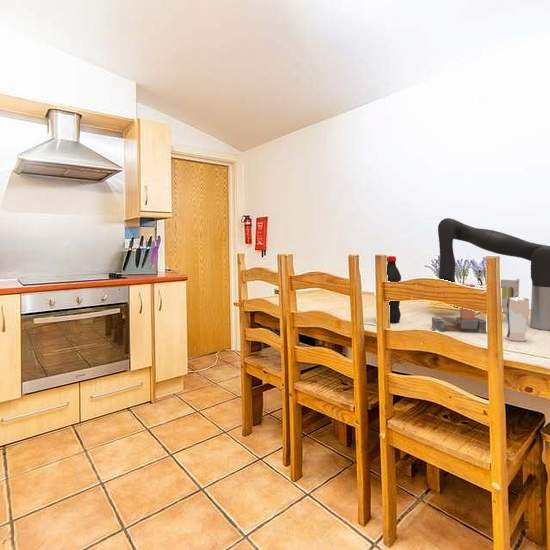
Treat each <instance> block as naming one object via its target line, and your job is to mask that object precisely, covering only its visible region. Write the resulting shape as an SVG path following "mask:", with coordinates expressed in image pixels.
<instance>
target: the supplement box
mask: <svg viewBox="0 0 550 550" xmlns="http://www.w3.org/2000/svg"><path fill="white" fill-rule="evenodd" d="M500 278H501V288H502V308H503V313H502V314H506V303H507V298H509V297H518V298H519V295H520V294H519V293H520V278H516V277H515V278H514V277H500Z"/></svg>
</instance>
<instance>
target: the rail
mask: <svg viewBox="0 0 550 550" xmlns="http://www.w3.org/2000/svg"><path fill="white" fill-rule="evenodd" d="M474 319H476V320H477V321H478V326H477V329H462V328H460V324H457V323H456V322H455V323H451V322H450V323H448V322H446V323H445V320H444V319H443V318H442V317H439V316H435V317H431V329H432V328H433V329H434V330H433V329H432V330H433V331H435V330H438V331H444V332H466V331H478V332H477V333H479V332H480V333H479V334H487V333H486V321H487V320H485V319H484V318H483V317H474Z"/></svg>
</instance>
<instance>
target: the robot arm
mask: <svg viewBox="0 0 550 550" xmlns="http://www.w3.org/2000/svg"><path fill="white" fill-rule="evenodd" d="M437 235H438V244H439V245H438V246H439V247H438V248H439V267H438V269H439V270H438V279H439V280H440V279H444V280H448V281H451V282H455V283H456V275H455V274H456V258H455V254H454V240H458V241H462V242H467V243H469V244H472V245H474V246H476V247H478V248H479V249H481V250H484V251H487V252H491V253H494V254H497V255H502V256H509V257H513V258H521V259H523V260H527V261H529V262H530V279H531V301H530V305H531V306H530V321H529V324H530V325H529V327H531V328H532V329H538V330H542V331H543V330H544V331H550V245H546V244H540V243H535V242H531V241H527V240H526V239H525V240H524V239H521V238H520V237H516V236H513V235H510V234H507V233H504V232H501V231H496V230H493V229H488V228H487V229H486V228H479V227H474V226H470V225H469V224H466V223H463V222H461V221H459V220H456V219H454V218H451V217H450V218H449V217H447V218H446V217H445V218H443V219H442V220H440V222H439V224H438V226H437ZM450 307H454V308H455V309H459V308H458V307H455V306H452V305H450Z"/></svg>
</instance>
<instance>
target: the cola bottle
mask: <svg viewBox="0 0 550 550" xmlns="http://www.w3.org/2000/svg"><path fill="white" fill-rule="evenodd" d="M396 262H397V257H396V256H395V255H388V256H386V263H387V264H386V266H387V275H388V281H390V282H399V281H401V282H402V275H401V273H400V272H401V271H400V270H399V269H398V267H397V264H396ZM400 302H401V300H400V301H390V302H389V305H390V322H391V323H390V324H394V323H398V322H400V320H401V315H402V314H401V313H402V312H401V310H400Z"/></svg>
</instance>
